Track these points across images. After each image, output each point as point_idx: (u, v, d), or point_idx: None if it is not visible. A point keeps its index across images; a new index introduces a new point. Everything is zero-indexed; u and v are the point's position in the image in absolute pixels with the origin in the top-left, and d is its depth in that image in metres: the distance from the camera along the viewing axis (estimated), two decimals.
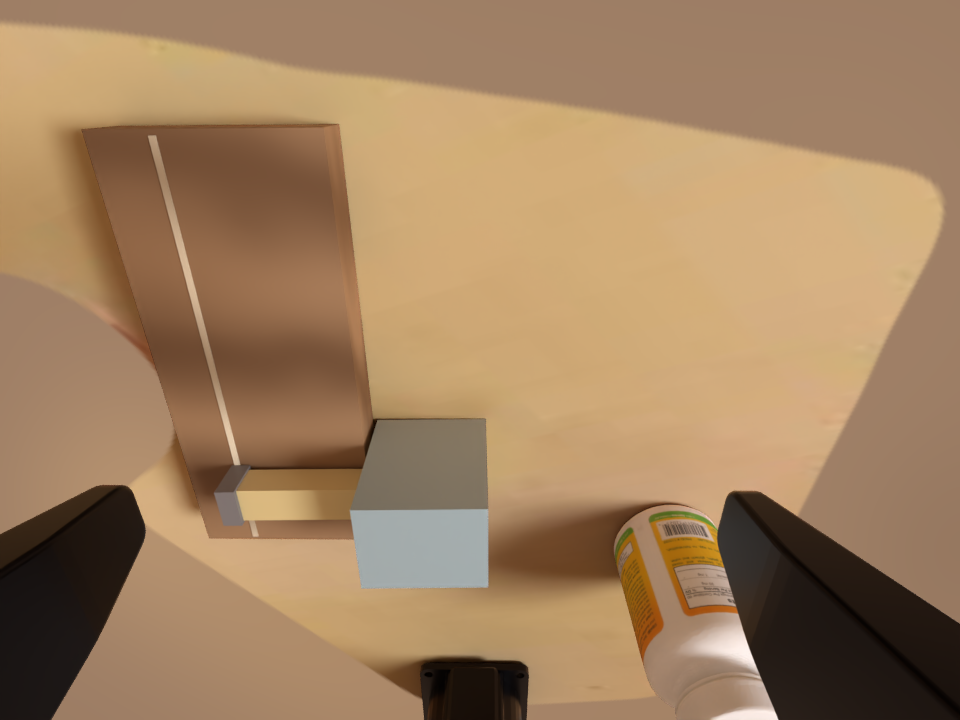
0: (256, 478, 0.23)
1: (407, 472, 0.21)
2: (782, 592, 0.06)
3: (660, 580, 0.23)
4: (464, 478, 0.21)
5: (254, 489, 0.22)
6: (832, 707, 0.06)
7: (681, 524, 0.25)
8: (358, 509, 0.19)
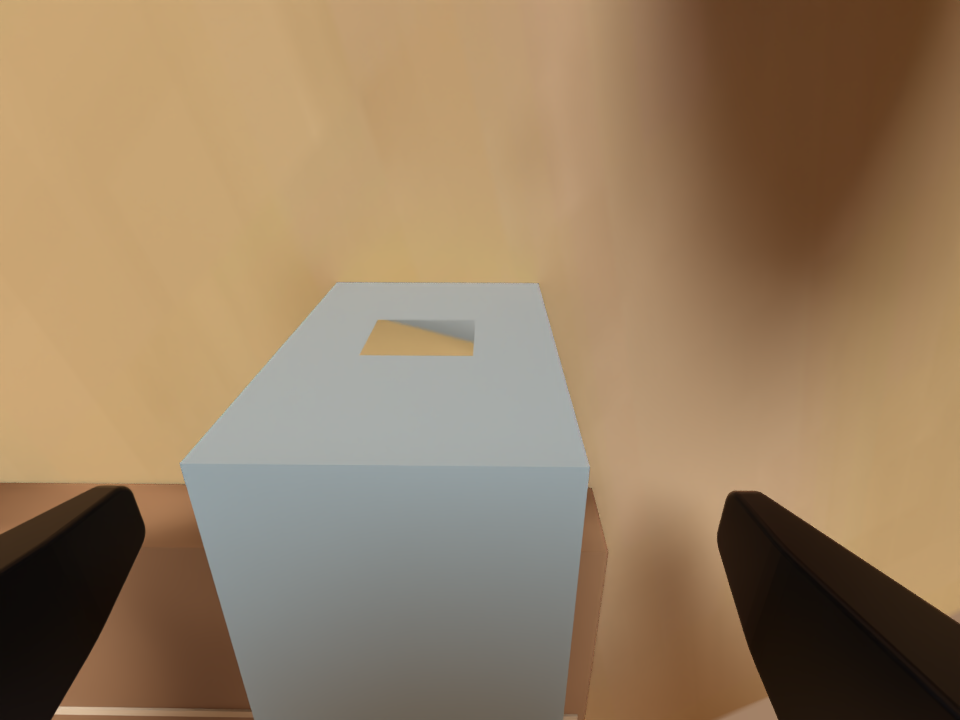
0: None
1: None
2: (782, 592, 0.06)
3: None
4: None
5: None
6: (832, 707, 0.06)
7: None
8: None
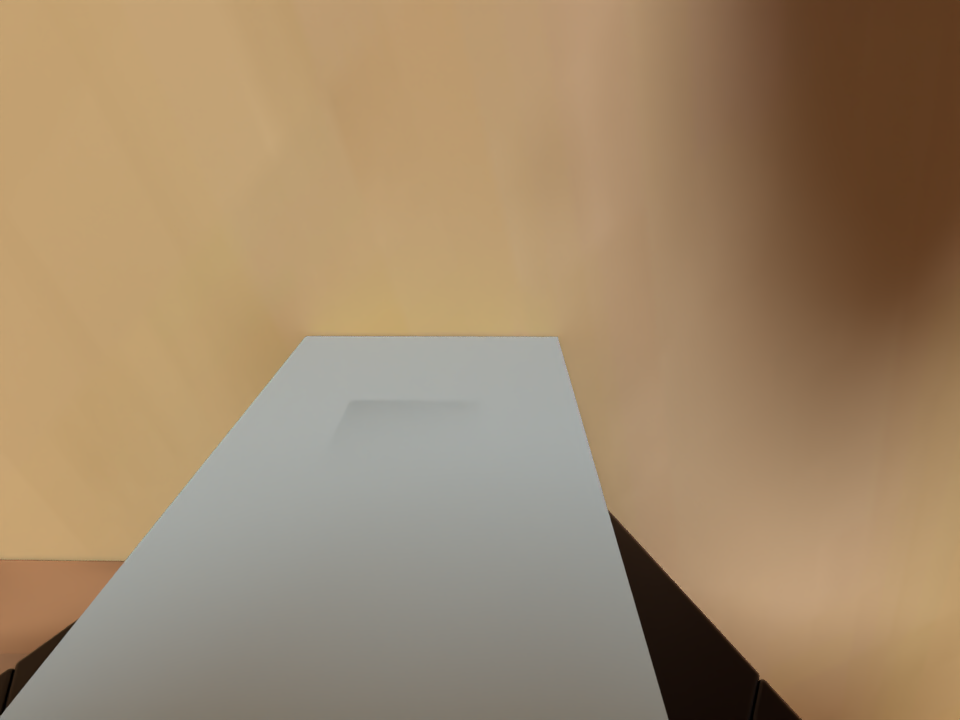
0: None
1: None
2: None
3: None
4: None
5: None
6: None
7: None
8: None
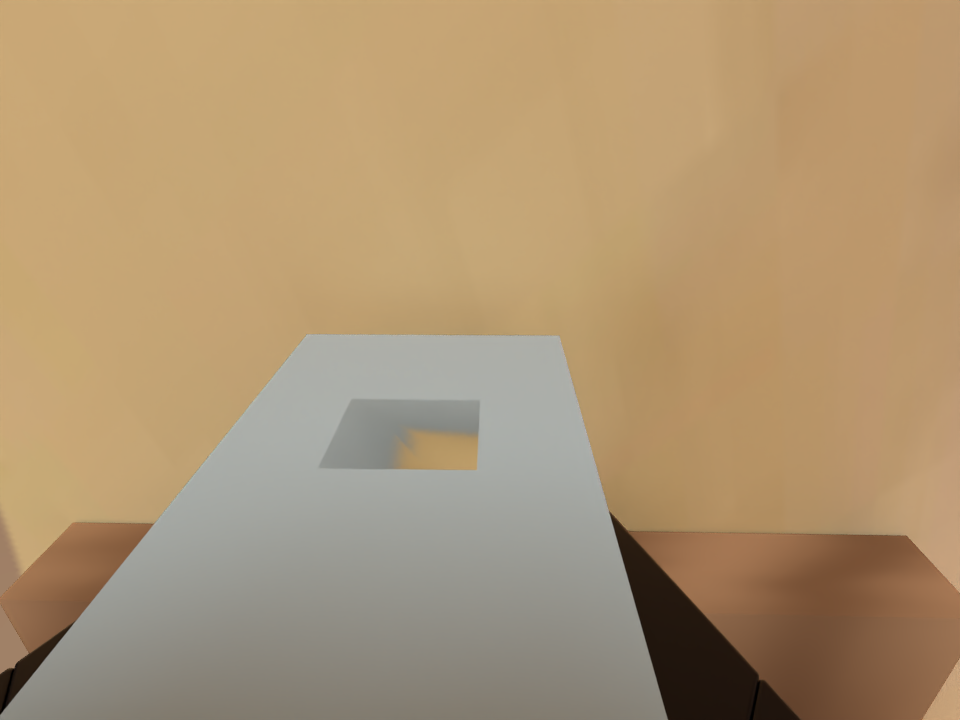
0: None
1: None
2: None
3: None
4: None
5: None
6: None
7: None
8: None
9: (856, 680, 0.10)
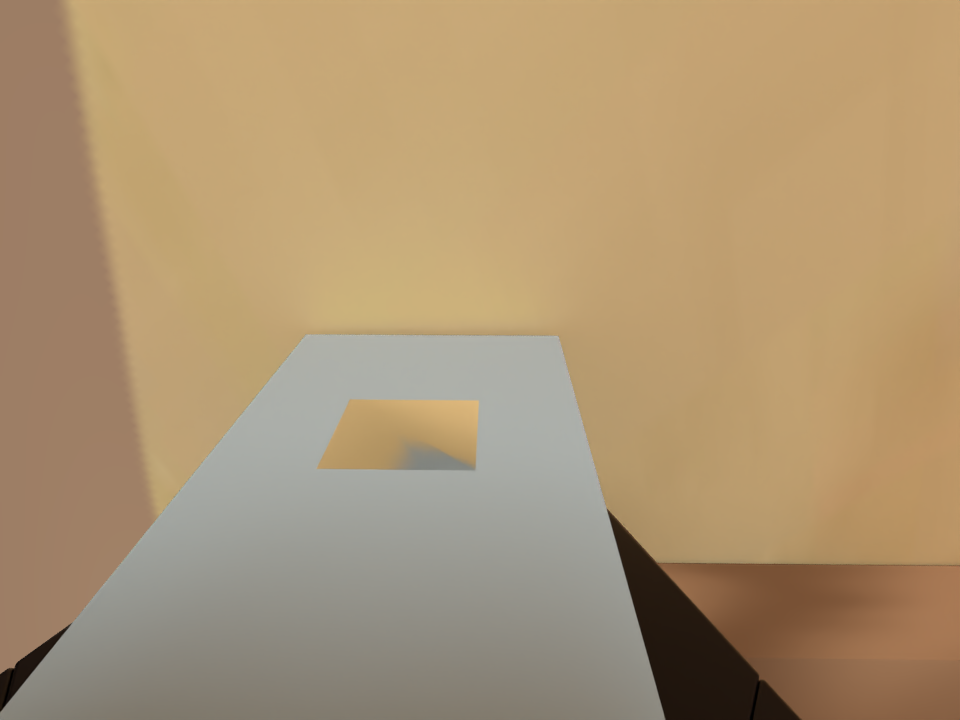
0: None
1: None
2: None
3: None
4: None
5: None
6: None
7: None
8: None
9: None
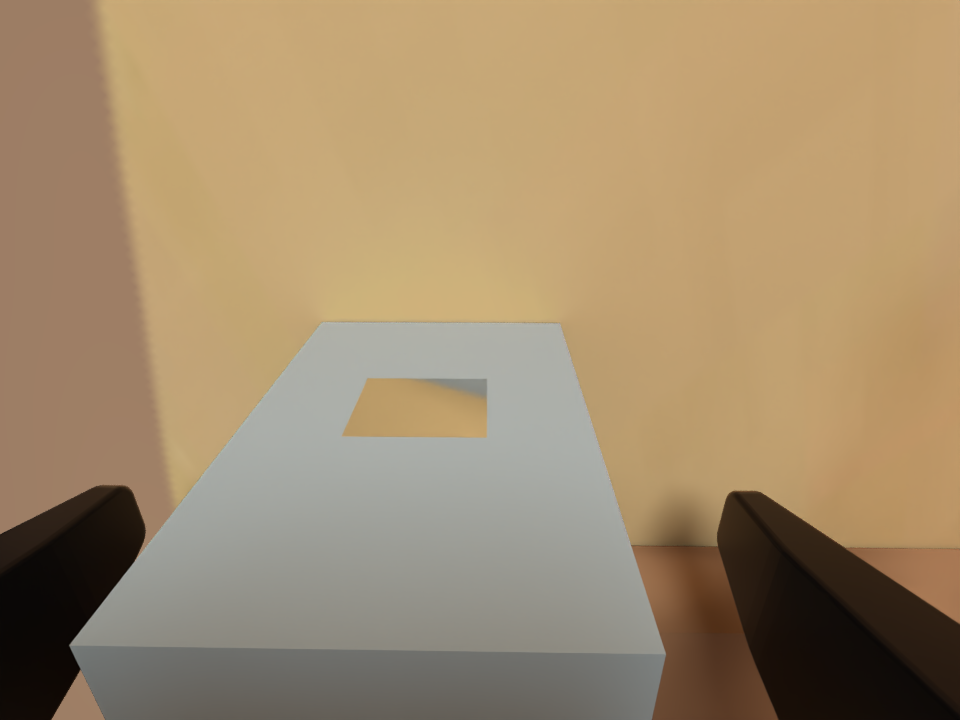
0: None
1: None
2: (782, 592, 0.06)
3: None
4: None
5: None
6: (832, 707, 0.06)
7: None
8: None
9: None
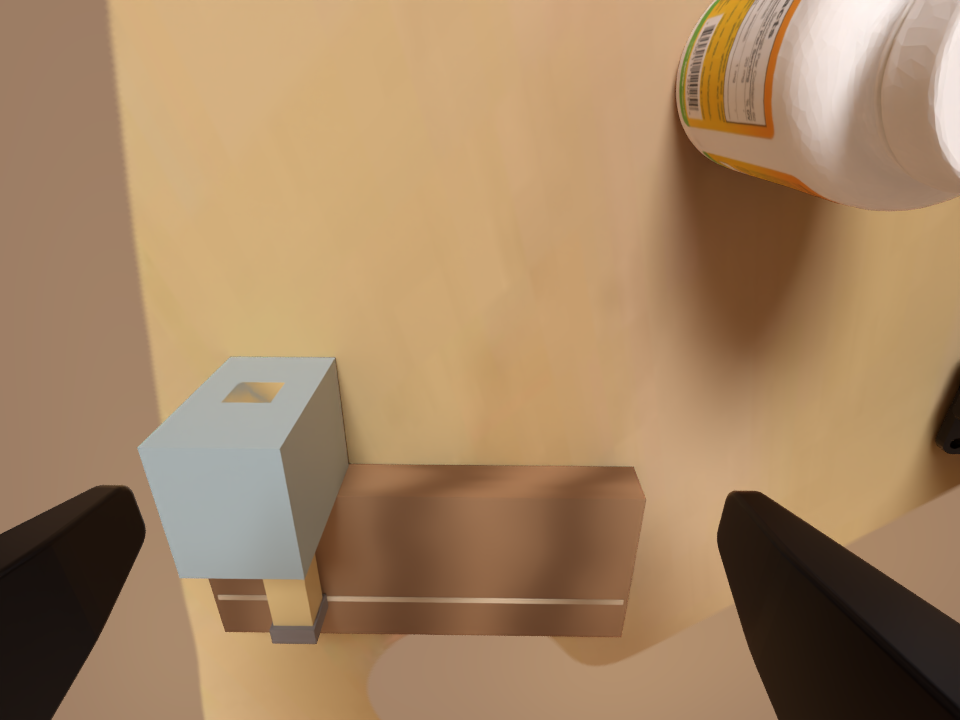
0: None
1: None
2: (782, 592, 0.06)
3: (742, 149, 0.13)
4: None
5: None
6: (832, 707, 0.06)
7: (691, 74, 0.15)
8: (178, 569, 0.17)
9: (597, 534, 0.21)
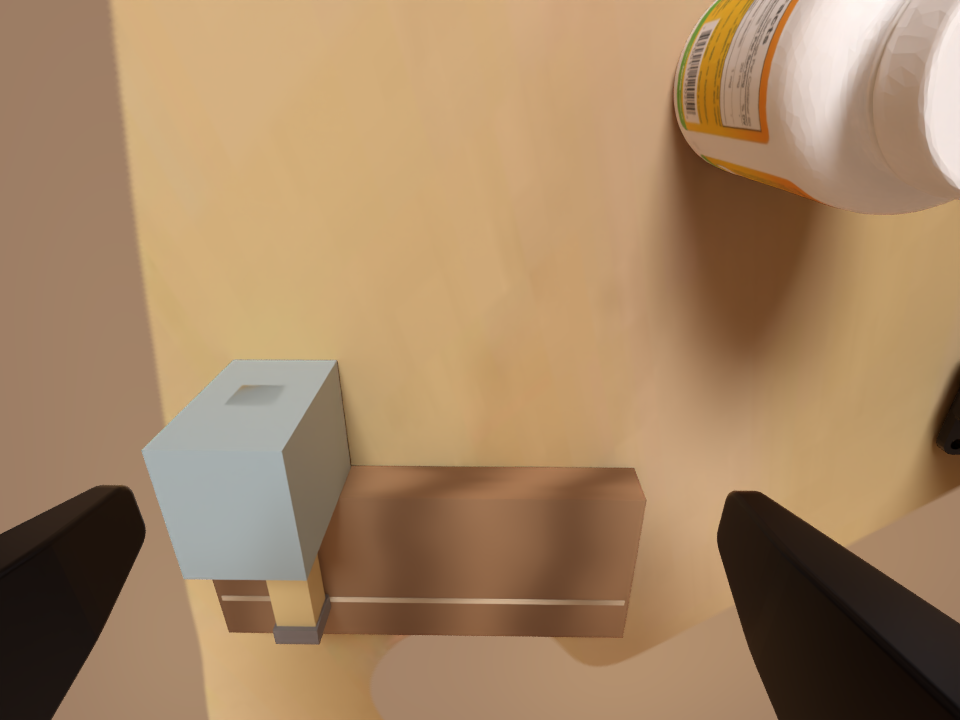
0: None
1: None
2: (782, 592, 0.06)
3: (739, 154, 0.13)
4: None
5: None
6: (832, 707, 0.06)
7: (688, 78, 0.15)
8: (182, 570, 0.17)
9: (598, 535, 0.22)
